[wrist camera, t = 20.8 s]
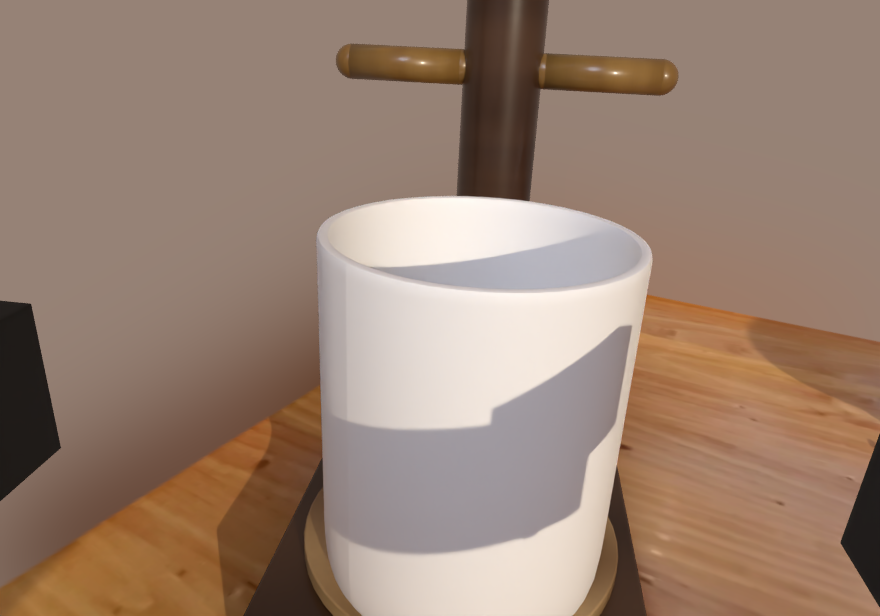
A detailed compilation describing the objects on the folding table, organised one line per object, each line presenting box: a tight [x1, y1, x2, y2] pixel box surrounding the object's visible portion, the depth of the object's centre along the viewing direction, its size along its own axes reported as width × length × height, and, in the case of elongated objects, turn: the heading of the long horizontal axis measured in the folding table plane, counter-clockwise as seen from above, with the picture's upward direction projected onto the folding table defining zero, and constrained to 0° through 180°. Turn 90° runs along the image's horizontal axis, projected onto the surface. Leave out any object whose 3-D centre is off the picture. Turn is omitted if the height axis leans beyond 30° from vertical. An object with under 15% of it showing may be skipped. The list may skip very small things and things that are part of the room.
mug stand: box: [244, 0, 678, 616], centre depth 21 cm, size 14×12×24 cm
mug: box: [316, 196, 653, 616], centre depth 21 cm, size 9×12×11 cm
